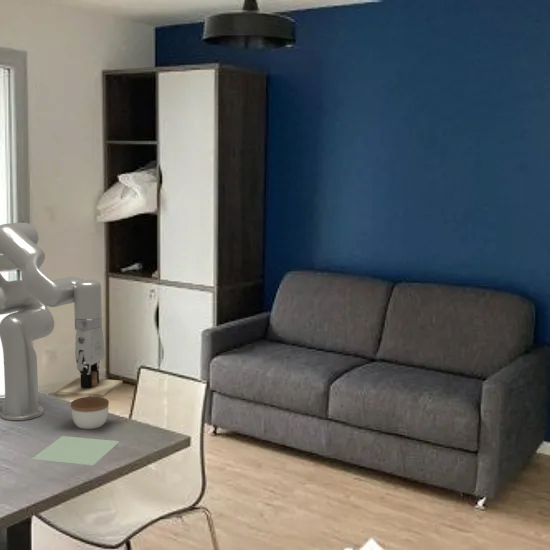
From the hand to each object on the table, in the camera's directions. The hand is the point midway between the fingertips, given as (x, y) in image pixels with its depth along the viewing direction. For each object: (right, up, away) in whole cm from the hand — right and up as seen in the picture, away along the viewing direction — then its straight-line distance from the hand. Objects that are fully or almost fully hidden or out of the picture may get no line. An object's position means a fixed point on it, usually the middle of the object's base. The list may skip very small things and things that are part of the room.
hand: (90, 384), depth 218 cm
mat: (+1, -16, -17) cm, 23 cm away
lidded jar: (0, -13, +2) cm, 13 cm away
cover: (0, -1, 0) cm, 1 cm away
